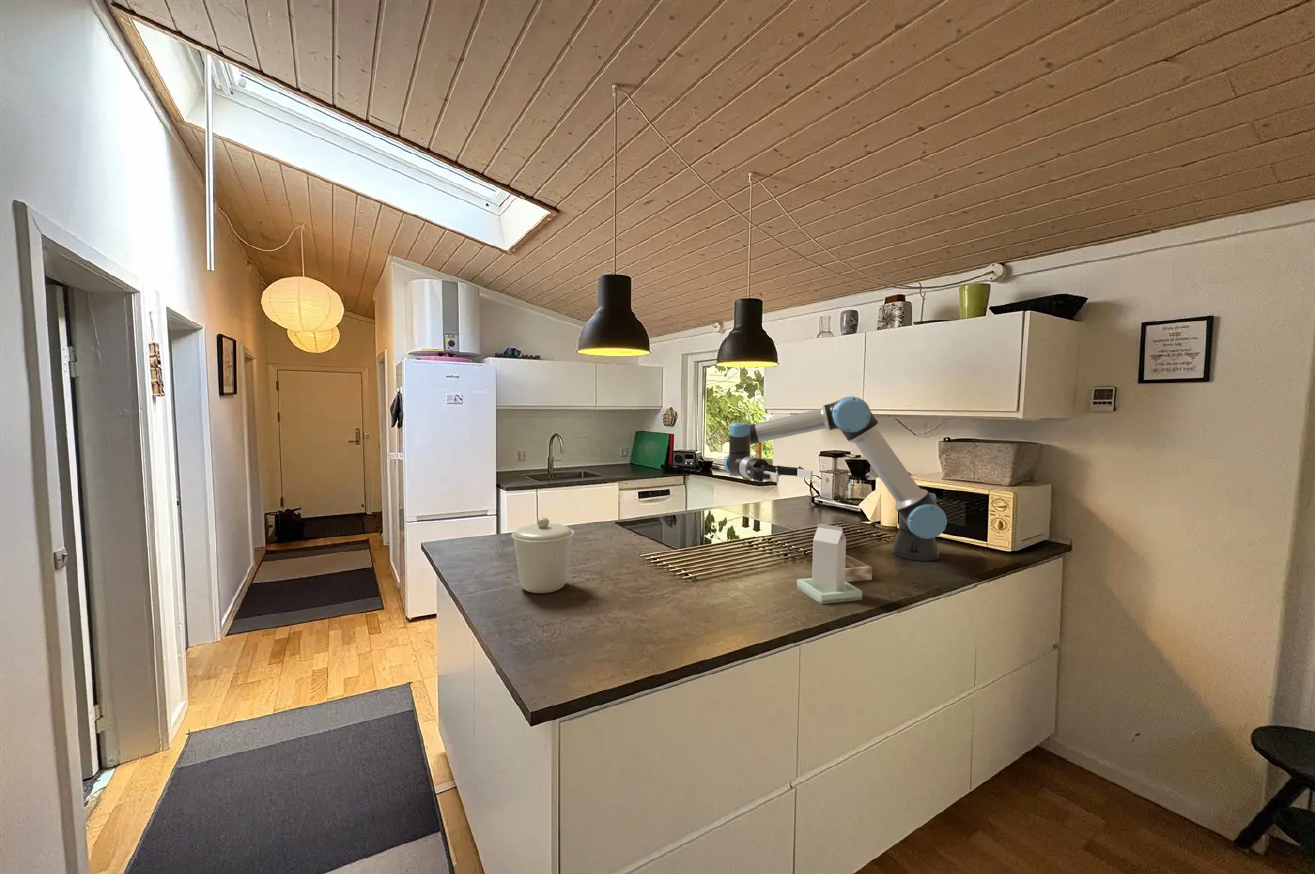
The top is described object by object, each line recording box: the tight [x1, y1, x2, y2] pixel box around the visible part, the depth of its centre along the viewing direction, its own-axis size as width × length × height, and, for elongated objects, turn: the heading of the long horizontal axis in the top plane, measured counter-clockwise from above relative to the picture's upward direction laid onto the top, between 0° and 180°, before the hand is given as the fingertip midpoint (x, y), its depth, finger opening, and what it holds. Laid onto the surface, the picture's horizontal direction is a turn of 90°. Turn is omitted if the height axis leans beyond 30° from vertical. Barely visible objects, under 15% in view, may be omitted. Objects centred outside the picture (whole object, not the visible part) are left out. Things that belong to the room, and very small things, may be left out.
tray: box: [796, 577, 863, 605], centre depth 153 cm, size 13×13×2 cm
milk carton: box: [811, 523, 847, 593], centre depth 153 cm, size 7×7×19 cm
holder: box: [811, 554, 873, 583], centre depth 170 cm, size 13×13×4 cm
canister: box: [511, 517, 575, 594], centre depth 156 cm, size 18×18×21 cm
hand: (795, 476), depth 167 cm, fingers open, 13 cm apart
